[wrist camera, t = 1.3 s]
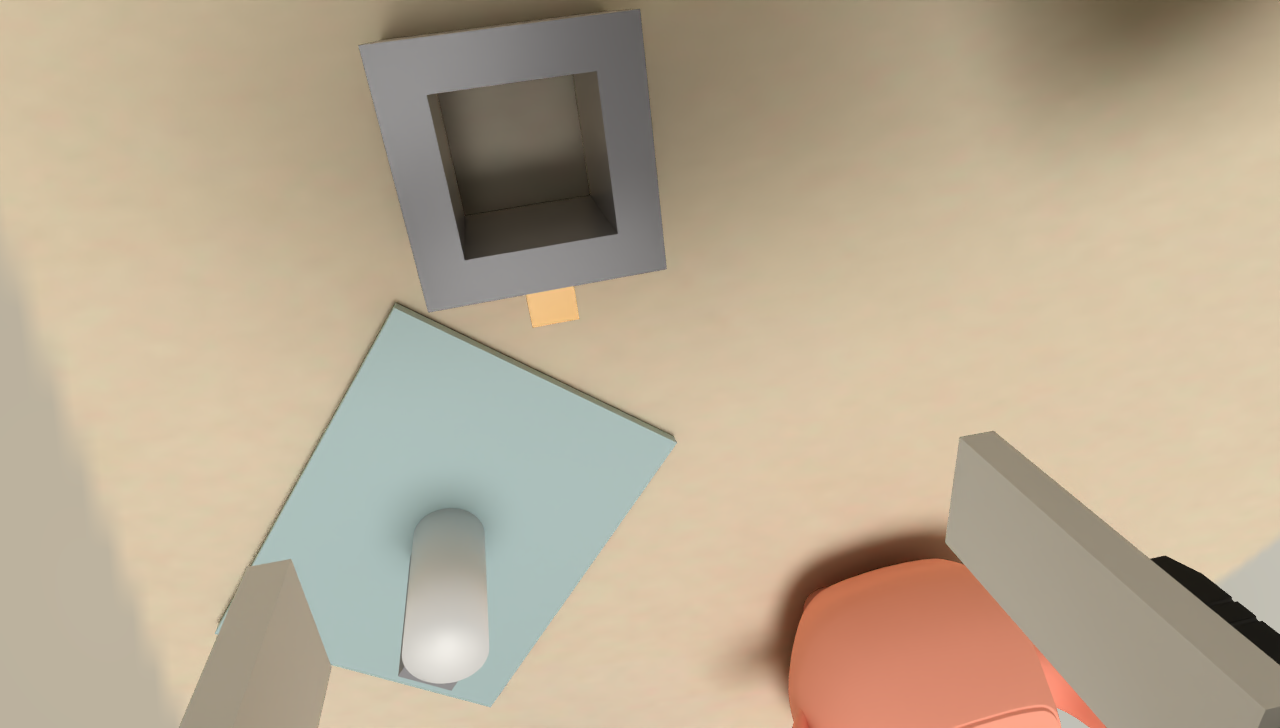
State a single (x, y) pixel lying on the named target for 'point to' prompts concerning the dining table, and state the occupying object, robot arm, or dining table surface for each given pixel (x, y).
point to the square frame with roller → (534, 234)
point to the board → (454, 509)
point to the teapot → (921, 657)
